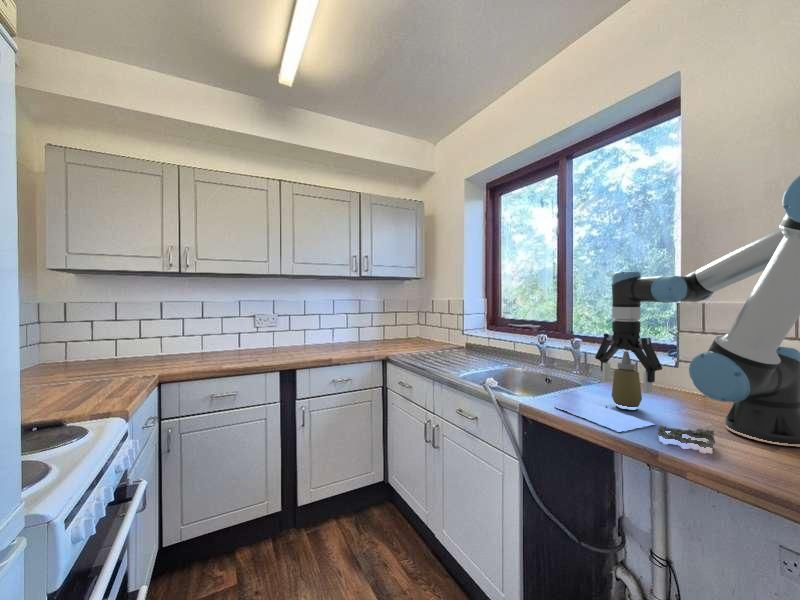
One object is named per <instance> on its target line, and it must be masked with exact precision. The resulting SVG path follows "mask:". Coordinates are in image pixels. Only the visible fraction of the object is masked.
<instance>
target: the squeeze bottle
mask: <svg viewBox="0 0 800 600" xmlns="http://www.w3.org/2000/svg"><path fill="white" fill-rule="evenodd" d="M611 398H612V401H613V403H614V402H615V403H616V404H618V405H622V406H627V407H638V406H639V407H640V404H641V402H642V400H643V399H642V398H643V396H642V388H641V380H640V373H639V371H638V370H636V364H635V363H634V362H632V361H631V356H630V352H629V351H623V355H622V359H621V361H619V362H617V368H616V369H615V370H614V371H613V380H612V389H611ZM615 403H614V404H615ZM639 407H638V408H639Z"/></svg>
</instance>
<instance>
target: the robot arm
mask: <svg viewBox="0 0 800 600" xmlns="http://www.w3.org/2000/svg"><path fill="white" fill-rule="evenodd" d="M781 203H782V204H781V205H782V208H783V209H784V213H785V215H784V216H783V218H782V220H781V222H780V224H779V226H778V228H777V229H776V228H775V230H773V231H771V232H769V233H767V234H764V235H762V236H761V237H759V238H757V239H755V240H753V241H752V242H749V243H747V244H745V245H743V246H741V247H740V248H737V249H735V250H734V251H731V252H729V253H727V254H726V255H723V256H721V257H720V258H718V259H716V260H713V261H712V262H710V263H708V264H706V265H704V266H702V267H700V268H698V269H697V270H694V271H692V272H689V274H687V275H682V276H681V275H666V274H665V275H659V276H658V275H657V276H641V272H640V271H637V270H636V271H635V270H634V271H633V270H631V271H627V270H626V271H615V272H614V273H613V274H612V280H611V281H612V282H611V294H612V295H611V296H612V299H611V300H612V307H611V319H613V320H612V321H611V322H612V323H611V325H612V326H611V327H612V328H611V330H612V332H613V333H611V332H608V333H607V332H606V333H604V334H603V340H602V342H601V344H600V345H599V348H598V350H597V352H596V354H595V357H594V358H595V360H598V361H599V362H600V371H601V372H602V383H610V382H611V362H610V360H611V358H612V357H613V356H614V355H615V354H616V353H617V352H618V351H619V350H626V351H631V353H632V354H634V355H635V358H637V359H638V362H640V363H641V365H642V366H643V368H644V369H645V370H643V385H642V386H643V394H649V393H653V383H655V381H656V372H657V371H662V370H663V365H662V363H661V362H660V360H659V358H658V355H657V354H656V352H655V350H654V347H653V345H652V339H651V338H650V337H640V334H641V322H640V321H639V320H641V303H644V302H645V303H663V304H667V303H668V304H669V303H671V304H672V303H678V302H680V303H683V302H692V303H697V302H700V301H701V302H702V301H705V300H708V299H709V298H711V296H712V295H713V294H714V293H715V292H718V291H720V290H722V289H724V288H727V287H729V286H731V285H733V284H736V283H738V282H741V281H743V280H746V279H747V278H750V277H752V276H755V275H756V274H760V273H761V272H762V273H761V274H760V277H759V279H758V281H757V283H756V284H755V285H754V287H753V289H752V290H751V292H750V294H749V296H748V297H747V299H746V301H745V303H744V304H743V306H742V307H741V309H740V311H739V313H738V314H737V316H736V318H735V320H734V322H733V323H732V325H731V327H730V329H728V332H727V333H725V334H721V335H717V336H716V337H715V338H714V340H713V341H712V343H711V345H709V348H708V350H707V351H706V352H705V351H704V352H702V353H699V354H698V355H696V356H695V357H694V358H692V360H691V361H690V363H689V367H688V373H689V377H690V379H691V380H692V384H693V385H694V386H695V388H696V390H698V391H699V392H700V393H701V394H703V395H704V396H706V397H708V398H709V399H712V400H714V401H718V402H722V403H723V402H724V403H732V404H731V406H730V409H729V411H728V413H727V415H726V417H725V419H724V421H725V422H724V423H725V424H726V425H727V426H728V427H729V428H731V429H733V430H735V431H737V432H740V433H743V434H746V435H749V436H752V437H756V438H759V439H763V440H767V441H772V442H779V443H788V444H800V351H799V349H796V348H794V347H787V346H786V347H785V346H781V344H782V343H783V341H784V340H785V339H786V337H787V335H788V334H789V332H790V331H791V329H792V328H793V327H794V325H795V323H796V322H797V320H798V319H799V317H800V175H798V176H797V177H796V178H794V180H793V181H792V182H791V183H790V184H789V185H788V186H787V188H786V190H785V192H784V193H783V196H782V202H781ZM611 343H612V344H611Z"/></svg>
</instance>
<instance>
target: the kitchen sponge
mask: <svg viewBox="0 0 800 600" xmlns="http://www.w3.org/2000/svg"><path fill="white" fill-rule="evenodd" d="M656 431H657V436H658V435H659V436H662V437H663V438H665V439H675V440H678V441H680V442H681V443H686V444H687V443H694V444H698V445H699V446H700V447H704V448H706V447H710V448H713V444H714V445H715V444H716V440H715V432H714V430H709V429H703V428H699V429H698V428H697V429H696V430H693V429H691V428H688V429H682V428H676V427H675V428H674V427H672V428H670V427H667V426H663V425H659V426H658V427H657V429H656ZM665 431H671V432H670V433H668V434H667V433H666V432H665ZM682 434H687V435H689V436H691V437H695V438H706V439H708V440H709V441H707V443H706V442H703V441H697V440H691V438H688V439H686V438H682Z"/></svg>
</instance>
